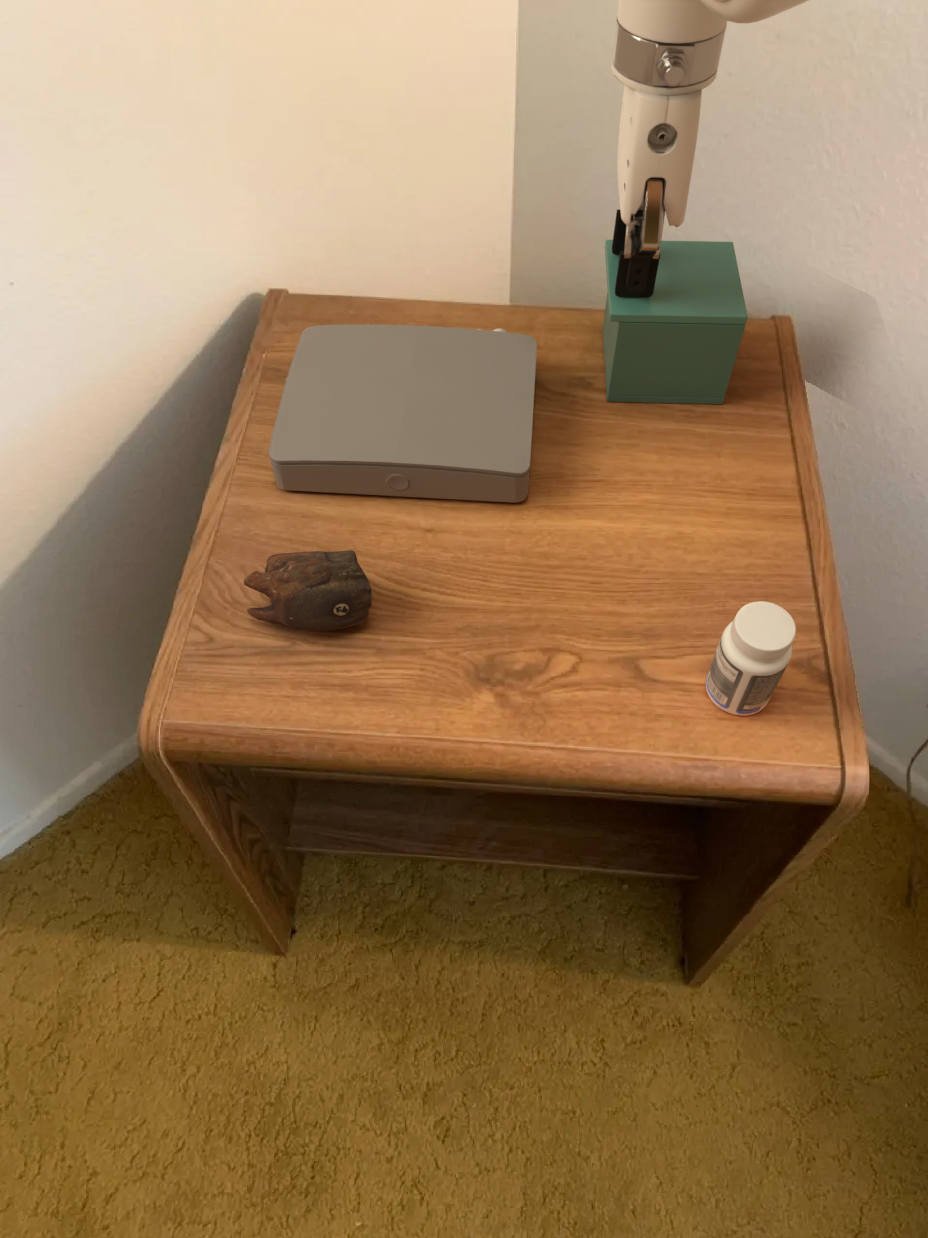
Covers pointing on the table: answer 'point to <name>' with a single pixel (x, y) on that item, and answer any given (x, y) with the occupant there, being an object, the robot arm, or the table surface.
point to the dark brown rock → (312, 590)
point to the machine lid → (683, 286)
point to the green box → (669, 361)
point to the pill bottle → (751, 658)
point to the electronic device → (407, 413)
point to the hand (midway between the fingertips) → (631, 271)
